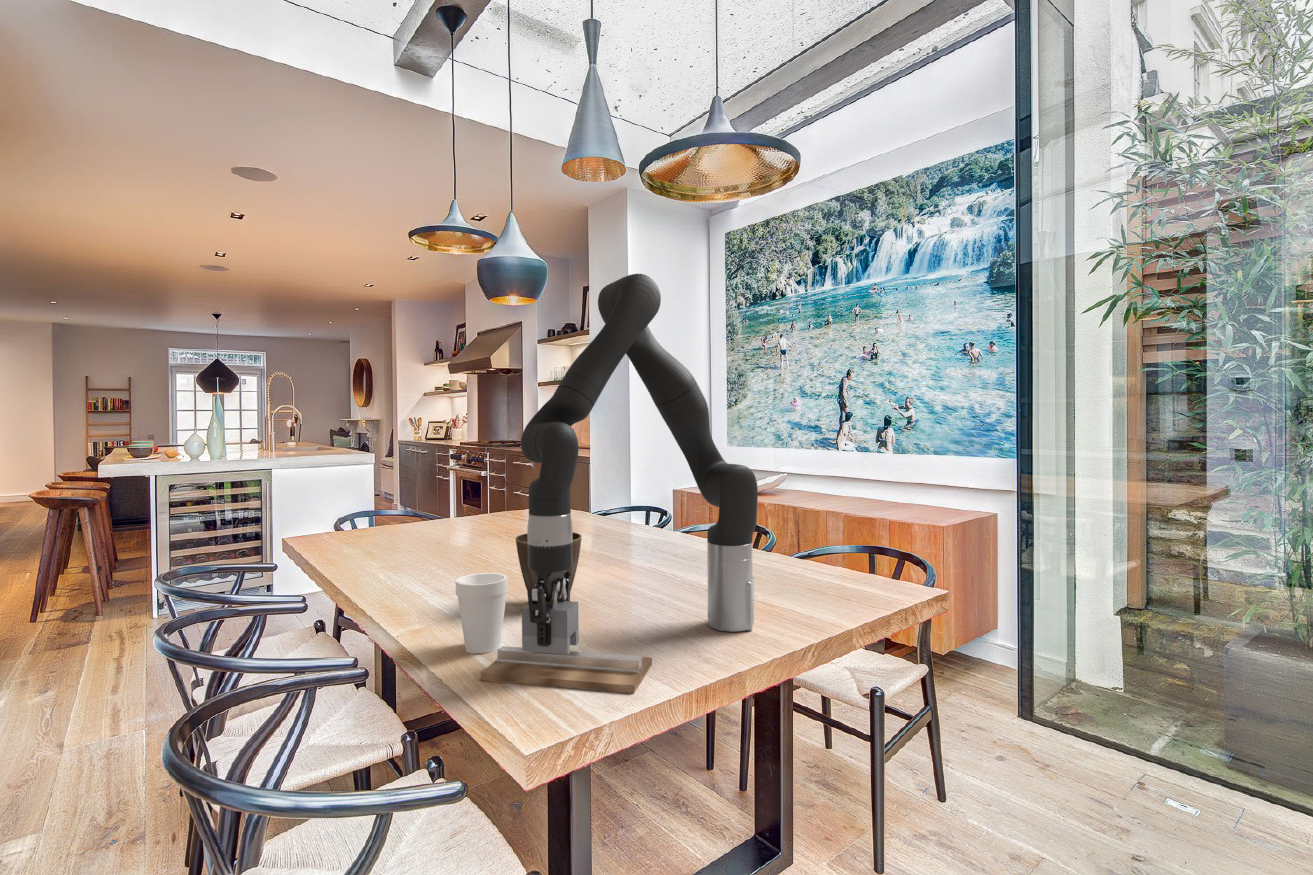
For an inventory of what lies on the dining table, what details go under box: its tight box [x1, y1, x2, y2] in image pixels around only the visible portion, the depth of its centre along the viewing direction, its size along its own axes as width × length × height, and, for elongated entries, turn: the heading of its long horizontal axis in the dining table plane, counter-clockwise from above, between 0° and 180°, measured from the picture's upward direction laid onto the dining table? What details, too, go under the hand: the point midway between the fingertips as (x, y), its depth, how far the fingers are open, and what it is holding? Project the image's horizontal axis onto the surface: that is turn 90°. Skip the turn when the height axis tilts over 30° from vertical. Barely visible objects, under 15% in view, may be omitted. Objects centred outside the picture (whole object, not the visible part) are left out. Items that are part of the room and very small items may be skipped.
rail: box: [496, 645, 643, 674], centre depth 109 cm, size 25×3×2 cm, turn 77°
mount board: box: [480, 656, 653, 694], centre depth 109 cm, size 26×12×1 cm, turn 77°
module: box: [521, 600, 580, 654], centre depth 110 cm, size 8×5×8 cm
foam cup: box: [455, 572, 509, 654], centre depth 121 cm, size 10×9×13 cm
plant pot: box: [515, 531, 583, 592], centre depth 148 cm, size 15×15×16 cm
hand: (551, 639), depth 110 cm, fingers closed on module, 5 cm apart
